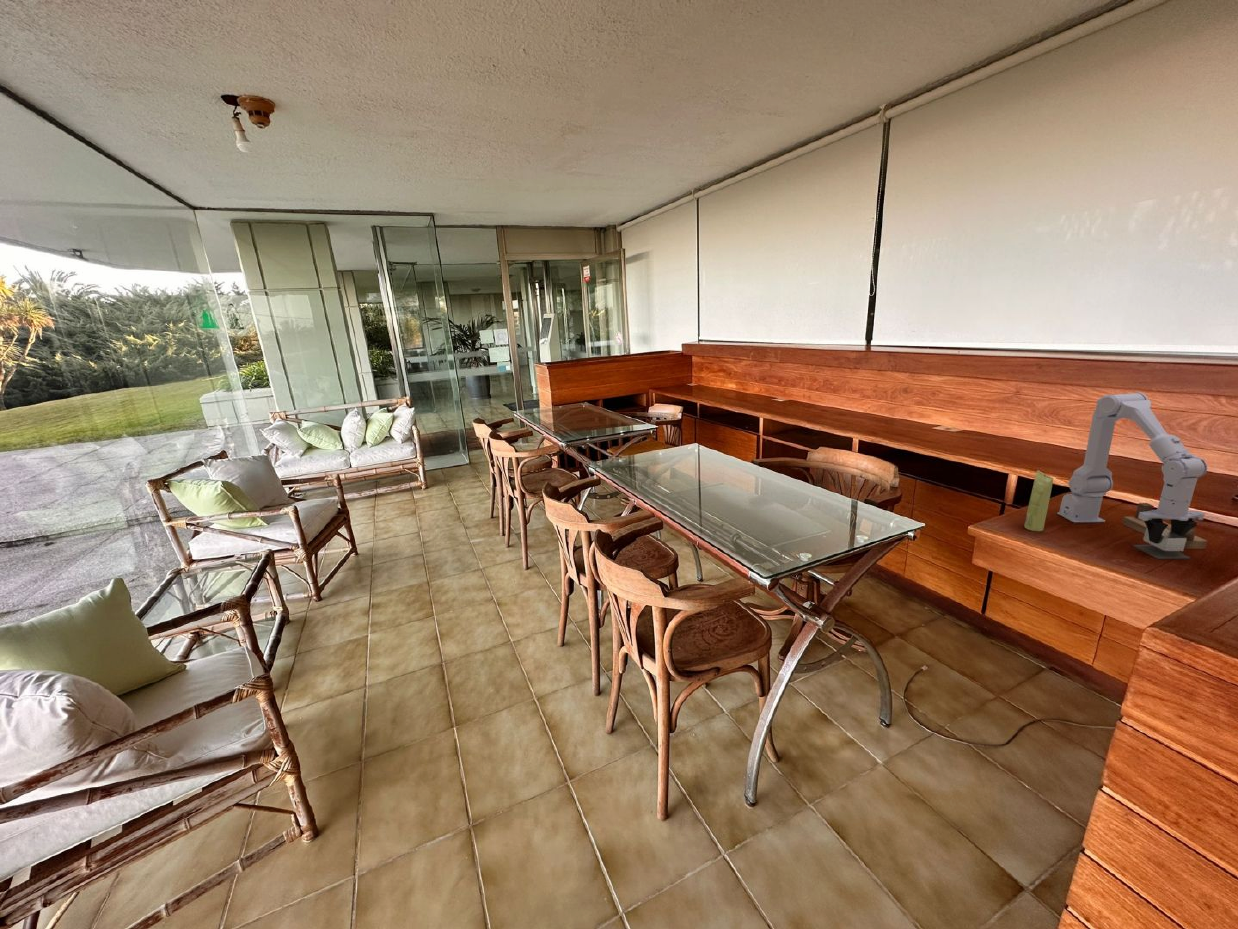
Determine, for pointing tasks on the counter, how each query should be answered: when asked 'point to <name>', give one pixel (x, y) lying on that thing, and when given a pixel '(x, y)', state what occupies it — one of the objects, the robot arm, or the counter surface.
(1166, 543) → the lever cap
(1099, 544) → the counter surface
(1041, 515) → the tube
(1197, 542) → the plane body
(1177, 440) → the robot arm
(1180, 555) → the rubber mat
